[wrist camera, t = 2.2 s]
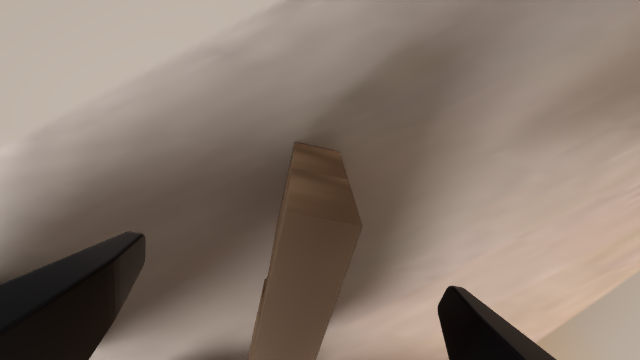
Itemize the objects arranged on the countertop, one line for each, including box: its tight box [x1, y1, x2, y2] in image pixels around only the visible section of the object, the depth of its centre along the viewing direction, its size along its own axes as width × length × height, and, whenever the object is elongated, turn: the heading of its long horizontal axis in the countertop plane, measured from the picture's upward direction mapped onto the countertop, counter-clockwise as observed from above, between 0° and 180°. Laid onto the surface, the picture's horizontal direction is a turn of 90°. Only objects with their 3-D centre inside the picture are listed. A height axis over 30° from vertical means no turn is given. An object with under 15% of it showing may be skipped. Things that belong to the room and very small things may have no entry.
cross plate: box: [248, 142, 362, 360], centre depth 13 cm, size 2×12×6 cm, turn 166°
